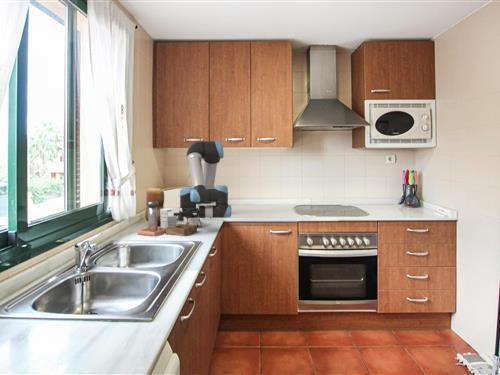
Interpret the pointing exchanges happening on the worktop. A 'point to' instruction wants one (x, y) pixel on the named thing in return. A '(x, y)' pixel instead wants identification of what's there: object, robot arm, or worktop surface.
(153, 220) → the metal plug
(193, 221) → the spread jar
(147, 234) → the tray
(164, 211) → the supplement box
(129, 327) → the worktop surface
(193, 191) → the robot arm
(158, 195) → the butternut squash
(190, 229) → the bore block
